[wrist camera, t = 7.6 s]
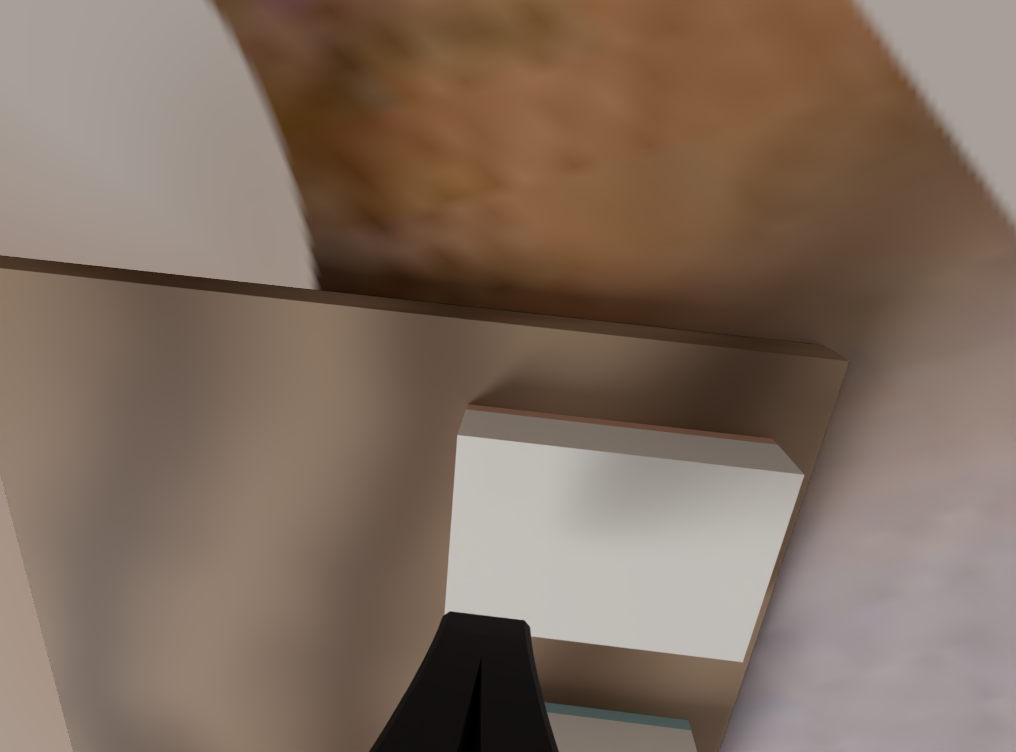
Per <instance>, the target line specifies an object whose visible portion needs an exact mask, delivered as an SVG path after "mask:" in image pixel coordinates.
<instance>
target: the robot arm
mask: <svg viewBox="0 0 1016 752" xmlns="http://www.w3.org/2000/svg"><path fill="white" fill-rule="evenodd" d="M369 752H559V751H558V747H557V744H556V741H555V738H554V734H553V731H552V728H551V725H550V721H549V718H548V714H547V710H546V707H545V703H544V699H543V695H542V691H541V687H540V683H539V678H538V674H537V669H536V664H535V659H534V654H533V647H532V641H531V631H530V626H529V625H528V624H527V623H526V622H525V620H518V619H510V618H501V617H493V616H485V615H477V614H468V613H460V612H452V611H450V612H448V613H447V614H445V615H443V616H442V619H441V622H440V624H439V627H438V630H437V632H436V634H435V636H434V639H433V641H432V643H431V645H430V647H429V649H428V651H427V653H426V655H425V657H424V659H423V661H422V663H421V665H420V667H419V669H418V671H417V672H416V674H415V676H414V678H413V680H412V682H411V683H410V685H409V687H408V689H407V690H406V692H405V694H404V695H403V697H402V699H401V700H400V702H399V704H398V705H397V707H396V709H395V710H394V712H393V714H392V716H391V717H390V719H389V721H388V722H387V724H386V726H385V727H384V729H383V731H382V732H381V734H380V735H379V737H378V738H377V740H376V742H375V743H374V745H373V746H372V748H371V749H370V751H369Z"/></svg>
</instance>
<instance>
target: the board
mask: <svg viewBox="0 0 1016 752" xmlns="http://www.w3.org/2000/svg"><path fill="white" fill-rule="evenodd" d="M848 364H849V361H848V360H846V359H845V358H843V357H841V356H840V355H838V354H836V353H835V352H833V351H831V350H829V349H828V348H826V347H824V346H823V345H815V344H806V343H797V342H788V341H779V340H770V339H760V338H751V337H742V336H733V335H724V334H715V333H705V332H696V331H687V330H678V329H669V328H660V327H650V326H641V325H632V324H623V323H614V322H605V321H596V320H586V319H577V318H568V317H559V316H550V315H541V314H531V313H522V312H513V311H504V310H495V309H486V308H476V307H467V306H458V305H449V304H440V303H431V302H422V301H412V300H403V299H394V298H385V297H376V296H367V295H357V294H348V293H339V292H330V291H321V290H312V289H302V288H293V287H284V286H275V285H265V284H257V283H248V282H238V281H229V280H220V279H211V278H202V277H192V276H183V275H174V274H165V273H156V272H147V271H138V270H128V269H119V268H110V267H101V266H92V265H82V264H73V263H64V262H55V261H46V260H37V259H36V260H35V259H28V258H19V257H9V256H0V475H1V478H2V482H3V486H4V489H5V494H6V498H7V501H8V505H9V509H10V512H11V516H12V520H13V524H14V528H15V531H16V535H17V539H18V543H19V547H20V551H21V555H22V558H23V562H24V566H25V570H26V574H27V577H28V581H29V585H30V589H31V593H32V596H33V600H34V604H35V608H36V611H37V615H38V619H39V623H40V627H41V630H42V634H43V638H44V642H45V646H46V650H47V653H48V657H49V661H50V665H51V669H52V672H53V676H54V680H55V684H56V688H57V691H58V695H59V699H60V703H61V706H62V710H63V714H64V718H65V722H66V725H67V729H68V733H69V737H70V741H71V745H72V749H73V752H369V751H370V749H371V748H372V746H373V745H374V743H375V742H376V740H377V738H378V737H379V735H380V734H381V732H382V731H383V729H384V727H385V726H386V724H387V722H388V721H389V719H390V717H391V716H392V714H393V712H394V710H395V709H396V707H397V705H398V704H399V702H400V700H401V699H402V697H403V695H404V694H405V692H406V690H407V689H408V687H409V685H410V683H411V682H412V680H413V678H414V676H415V674H416V672H417V671H418V669H419V667H420V665H421V663H422V661H423V659H424V657H425V655H426V653H427V651H428V649H429V647H430V645H431V643H432V641H433V639H434V636H435V634H436V632H437V630H438V627H439V624H440V622H441V619H442V616H443V615H444V614H445V600H446V586H447V572H448V558H449V544H450V530H451V516H452V503H453V489H454V475H455V461H456V447H457V435H458V432H459V428H460V425H461V422H462V419H463V416H464V413H465V410H466V407H467V404H470V405H479V406H488V407H497V408H506V409H514V410H523V411H532V412H541V413H550V414H559V415H567V416H576V417H585V418H594V419H603V420H612V421H620V422H629V423H638V424H647V425H656V426H665V427H673V428H682V429H691V430H700V431H709V432H718V433H726V434H735V435H744V436H753V437H762V438H771V439H773V440H774V441H775V442H776V443H777V444H778V446H779V447H780V448H781V449H782V450H783V451H784V452H785V453H786V455H787V456H788V457H789V458H790V459H791V460H792V461H793V462H794V463H795V465H796V466H797V467H798V468H799V469H800V470H801V471H802V472H803V474H804V478H803V481H802V484H801V487H800V490H799V493H798V496H797V499H796V502H795V505H794V508H793V511H792V514H791V517H790V520H789V523H788V526H787V529H786V533H785V536H784V539H783V542H782V545H781V548H780V551H779V554H778V557H777V560H776V563H775V566H774V569H773V572H772V575H771V578H770V581H769V584H768V587H767V590H766V593H765V596H764V599H763V602H762V605H761V608H760V611H759V614H758V617H757V620H756V623H755V626H754V630H753V633H752V636H751V639H750V642H749V645H748V648H747V651H746V654H745V657H744V660H743V662H736V661H728V660H720V659H712V658H704V657H695V656H687V655H679V654H671V653H663V652H655V651H646V650H638V649H630V648H622V647H614V646H606V645H597V644H589V643H581V642H573V641H565V640H557V639H548V638H540V637H532V636H531V641H532V647H533V654H534V659H535V664H536V669H537V674H538V678H539V683H540V687H541V691H542V695H543V699H544V702H546V703H554V704H562V705H570V706H578V707H586V708H594V709H602V710H610V711H618V712H626V713H634V714H642V715H650V716H658V717H666V718H674V719H682V720H689V724H690V727H691V731H692V735H693V739H694V742H695V746H696V750H697V752H719V749H720V746H721V744H722V741H723V738H724V735H725V732H726V729H727V726H728V723H729V720H730V717H731V714H732V711H733V708H734V705H735V702H736V699H737V696H738V693H739V690H740V687H741V684H742V681H743V678H744V675H745V672H746V669H747V666H748V663H749V660H750V657H751V654H752V651H753V648H754V645H755V642H756V639H757V636H758V633H759V630H760V627H761V624H762V621H763V618H764V615H765V612H766V609H767V606H768V603H769V600H770V597H771V594H772V591H773V588H774V585H775V582H776V579H777V576H778V573H779V570H780V567H781V564H782V561H783V558H784V555H785V552H786V549H787V547H788V544H789V541H790V538H791V535H792V532H793V529H794V526H795V523H796V520H797V517H798V514H799V511H800V508H801V505H802V502H803V499H804V496H805V493H806V490H807V487H808V484H809V481H810V478H811V475H812V472H813V469H814V466H815V463H816V460H817V457H818V454H819V451H820V448H821V445H822V442H823V439H824V436H825V433H826V430H827V427H828V424H829V421H830V418H831V415H832V412H833V409H834V406H835V403H836V400H837V397H838V394H839V391H840V388H841V385H842V382H843V379H844V376H845V373H846V370H847V367H848Z"/></svg>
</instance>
